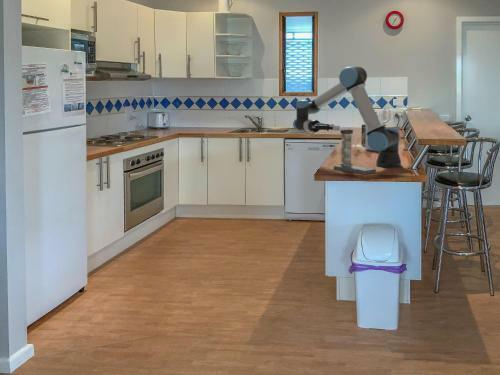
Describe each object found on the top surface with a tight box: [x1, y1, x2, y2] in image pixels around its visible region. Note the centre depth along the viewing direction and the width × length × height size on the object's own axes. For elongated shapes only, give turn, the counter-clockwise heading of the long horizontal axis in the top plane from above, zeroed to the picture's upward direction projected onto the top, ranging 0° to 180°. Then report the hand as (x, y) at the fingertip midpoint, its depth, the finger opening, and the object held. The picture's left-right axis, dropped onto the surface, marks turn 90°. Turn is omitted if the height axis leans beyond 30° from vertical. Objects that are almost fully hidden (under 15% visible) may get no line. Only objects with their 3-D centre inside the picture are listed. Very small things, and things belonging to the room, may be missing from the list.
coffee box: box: [361, 124, 366, 147], centre depth 544 cm, size 9×6×16 cm
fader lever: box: [339, 129, 354, 167], centre depth 423 cm, size 5×5×21 cm
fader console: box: [333, 164, 377, 175], centre depth 419 cm, size 26×9×2 cm, turn 36°
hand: (338, 128), depth 427 cm, fingers closed
